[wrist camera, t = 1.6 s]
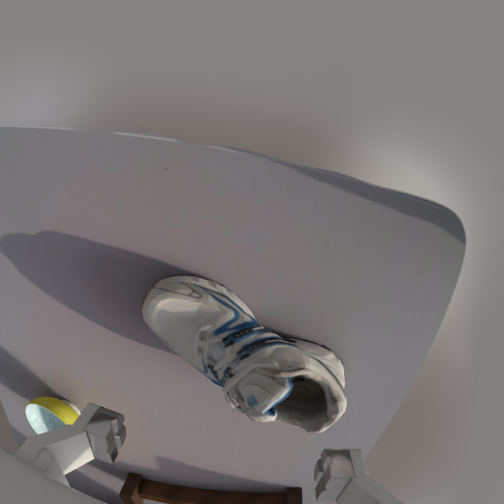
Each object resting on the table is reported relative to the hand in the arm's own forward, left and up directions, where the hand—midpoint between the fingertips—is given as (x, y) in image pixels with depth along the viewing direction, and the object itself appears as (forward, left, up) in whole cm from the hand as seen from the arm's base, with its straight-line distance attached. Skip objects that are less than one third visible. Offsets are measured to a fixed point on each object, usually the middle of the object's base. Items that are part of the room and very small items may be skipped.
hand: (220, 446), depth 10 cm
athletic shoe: (+1, +7, -22) cm, 23 cm away
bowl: (+31, +23, -22) cm, 44 cm away
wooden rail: (+9, +40, -21) cm, 46 cm away
